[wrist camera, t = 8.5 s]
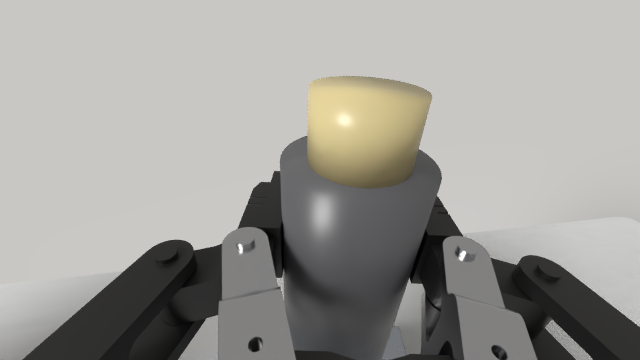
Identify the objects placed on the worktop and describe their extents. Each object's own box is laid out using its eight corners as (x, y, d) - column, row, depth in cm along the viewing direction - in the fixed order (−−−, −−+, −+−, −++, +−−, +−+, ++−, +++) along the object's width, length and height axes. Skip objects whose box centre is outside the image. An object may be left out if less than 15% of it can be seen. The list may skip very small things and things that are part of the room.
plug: (279, 400, 11) (261, 110, 5) (290, 301, 15) (288, 68, 9) (389, 403, 11) (511, 123, 5) (372, 304, 15) (428, 75, 9)
